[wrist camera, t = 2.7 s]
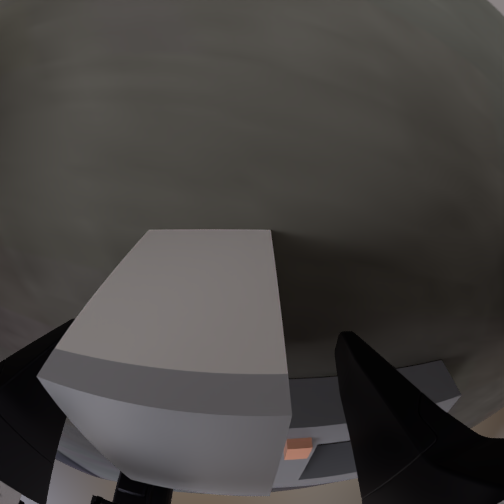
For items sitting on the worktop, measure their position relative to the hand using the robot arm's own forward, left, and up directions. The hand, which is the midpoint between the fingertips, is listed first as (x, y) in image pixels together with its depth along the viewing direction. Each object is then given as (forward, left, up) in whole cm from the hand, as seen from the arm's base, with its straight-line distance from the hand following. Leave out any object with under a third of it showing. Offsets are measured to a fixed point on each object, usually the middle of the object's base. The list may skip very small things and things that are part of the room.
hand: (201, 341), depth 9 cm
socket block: (-11, -8, -2) cm, 14 cm away
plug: (0, 0, -3) cm, 3 cm away
